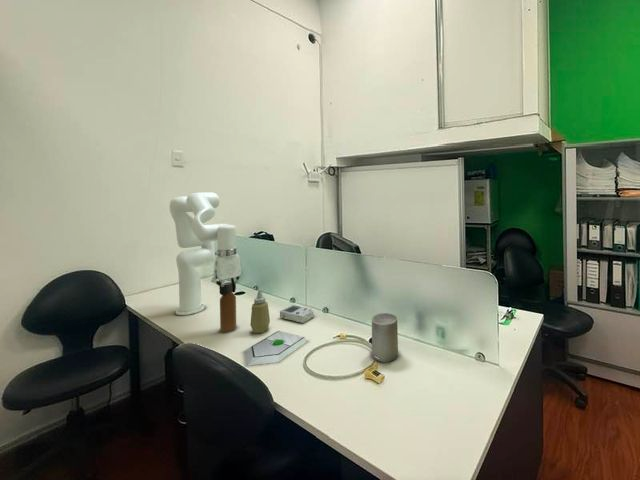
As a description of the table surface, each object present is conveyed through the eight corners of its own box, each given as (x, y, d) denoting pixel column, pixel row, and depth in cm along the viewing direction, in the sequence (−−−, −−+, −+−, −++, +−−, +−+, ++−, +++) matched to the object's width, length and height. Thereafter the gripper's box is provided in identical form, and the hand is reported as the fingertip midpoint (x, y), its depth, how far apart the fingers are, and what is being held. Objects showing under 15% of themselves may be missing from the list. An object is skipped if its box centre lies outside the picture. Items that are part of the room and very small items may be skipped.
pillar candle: (394, 346, 116) (394, 308, 116) (400, 361, 106) (399, 319, 106) (370, 349, 114) (369, 310, 114) (373, 364, 105) (373, 321, 104)
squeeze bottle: (263, 335, 127) (262, 293, 127) (246, 334, 128) (245, 292, 128) (273, 327, 135) (273, 287, 134) (257, 325, 136) (257, 286, 136)
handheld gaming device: (302, 324, 137) (302, 315, 137) (279, 318, 144) (279, 310, 144) (315, 317, 145) (315, 309, 145) (292, 311, 152) (292, 304, 152)
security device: (230, 360, 108) (230, 354, 108) (276, 333, 129) (276, 328, 129) (264, 372, 101) (264, 366, 101) (307, 341, 121) (307, 336, 121)
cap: (233, 289, 136) (233, 281, 136) (231, 292, 132) (231, 284, 132) (224, 290, 134) (223, 282, 134) (221, 293, 131) (221, 285, 131)
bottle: (222, 327, 135) (221, 283, 135) (237, 325, 137) (236, 282, 137) (218, 333, 129) (217, 288, 129) (234, 331, 131) (234, 286, 131)
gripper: (212, 257, 124) (212, 300, 124) (249, 250, 138) (249, 289, 138) (203, 255, 128) (204, 297, 128) (240, 248, 142) (241, 286, 142)
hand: (227, 292), depth 133 cm, fingers closed on cap, 3 cm apart
